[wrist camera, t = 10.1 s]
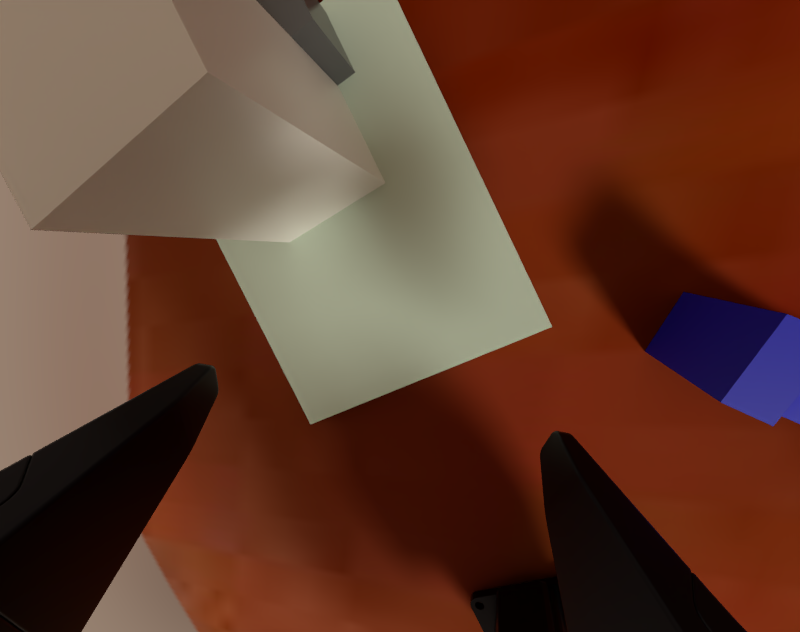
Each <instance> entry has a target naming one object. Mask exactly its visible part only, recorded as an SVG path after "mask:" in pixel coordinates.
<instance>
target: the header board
mask: <svg viewBox="0 0 800 632" xmlns="http://www.w3.org/2000/svg"><path fill="white" fill-rule="evenodd" d="M256 1H257V2H258V3H259V4H260V5H261V6H262V7H263V8H264V9H265V10H266V11H267V12H268V13H269V14H270V15H271V16H272V17H273V19H274V20H275V21H276V22H277V23H278V24H279V25H280V26H281V27H282V28H283V29H284V30H285V31H286V32H287V33H288V34H289V35H290V36H291V37H292V38H293V39H294V41H295V42H296V43H297V44H298V45H299V46H300V47H301V48H302V49H303V50H304V51H305V52H306V53H307V54H308V55H309V56H310V57H311V58H312V59H313V60H314V61H315V63H316V64H317V65H318V66H319V67H320V68H321V69H322V70H323V71H324V72H325V73H326V74H327V75H328V76H329V77H330V78H331V79H332V80H333V81H334V82H335V83H336V85H337V86H338V87H339V89H340V91H341V93H342V95H343V97H344V99H345V101H346V103H347V105H348V107H349V109H350V111H351V113H352V115H353V118H354V120H355V122H356V124H357V126H358V128H359V130H360V132H361V134H362V136H363V138H364V140H365V142H366V144H367V146H368V148H369V150H370V152H371V155H372V157H373V159H374V161H375V163H376V165H377V167H378V169H379V171H380V173H381V175H382V177H383V179H384V181H385V184H383V185H381V186H380V187H378V188H377V189H375V190H373V191H372V192H370V193H369V194H367V195H365V196H364V197H362V198H360V199H359V200H357V201H356V202H354V203H352V204H351V205H349V206H348V207H346V208H344V209H343V210H341V211H339V212H338V213H336V214H335V215H333V216H331V217H330V218H328V219H327V220H325V221H323V222H322V223H320V224H318V225H317V226H315V227H314V228H312V229H310V230H309V231H307V232H306V233H304V234H302V235H301V236H299V237H297V238H296V239H294V240H293V241H291V242H289V243H288V242H268V241H248V240H227V239H216V240H217V242H218V244H219V246H220V248H221V250H222V252H223V254H224V256H225V258H226V260H227V262H228V264H229V266H230V268H231V270H232V271H233V273H234V275H235V277H236V279H237V281H238V283H239V285H240V287H241V289H242V291H243V293H244V295H245V297H246V299H247V301H248V303H249V305H250V307H251V309H252V311H253V313H254V315H255V317H256V319H257V320H258V322H259V324H260V326H261V328H262V330H263V332H264V334H265V336H266V338H267V340H268V342H269V344H270V346H271V348H272V350H273V352H274V354H275V356H276V358H277V360H278V362H279V364H280V366H281V368H282V370H283V371H284V373H285V375H286V377H287V379H288V381H289V383H290V385H291V387H292V389H293V391H294V393H295V395H296V397H297V399H298V401H299V403H300V405H301V407H302V409H303V411H304V413H305V415H306V417H307V419H308V420H309V422H310V424H313V423H316V422H318V421H321V420H323V419H325V418H328V417H330V416H333V415H335V414H338V413H340V412H343V411H345V410H348V409H350V408H353V407H355V406H358V405H360V404H363V403H365V402H368V401H370V400H372V399H375V398H377V397H380V396H382V395H385V394H387V393H390V392H392V391H395V390H397V389H400V388H402V387H405V386H407V385H410V384H412V383H414V382H417V381H419V380H422V379H424V378H427V377H429V376H432V375H434V374H437V373H439V372H442V371H444V370H447V369H449V368H452V367H454V366H456V365H459V364H461V363H464V362H466V361H469V360H471V359H474V358H476V357H479V356H481V355H484V354H486V353H489V352H491V351H494V350H496V349H498V348H501V347H503V346H506V345H508V344H511V343H513V342H516V341H518V340H521V339H523V338H526V337H528V336H531V335H533V334H536V333H538V332H540V331H543V330H545V329H548V328H550V327H552V325H551V323H550V321H549V319H548V317H547V315H546V313H545V311H544V308H543V306H542V304H541V302H540V300H539V298H538V296H537V294H536V292H535V289H534V287H533V285H532V283H531V281H530V279H529V277H528V275H527V273H526V270H525V268H524V266H523V264H522V262H521V260H520V258H519V256H518V254H517V252H516V249H515V247H514V245H513V243H512V241H511V239H510V237H509V235H508V233H507V230H506V228H505V226H504V224H503V222H502V220H501V218H500V216H499V214H498V211H497V209H496V207H495V205H494V203H493V201H492V199H491V197H490V195H489V193H488V190H487V188H486V186H485V184H484V182H483V180H482V178H481V176H480V174H479V171H478V169H477V167H476V165H475V163H474V161H473V159H472V157H471V155H470V152H469V150H468V148H467V146H466V144H465V142H464V140H463V138H462V136H461V134H460V131H459V129H458V127H457V125H456V123H455V121H454V119H453V117H452V115H451V112H450V110H449V108H448V106H447V104H446V102H445V100H444V98H443V96H442V93H441V91H440V89H439V87H438V85H437V83H436V81H435V79H434V77H433V75H432V72H431V70H430V68H429V66H428V64H427V62H426V60H425V58H424V56H423V53H422V51H421V49H420V47H419V45H418V43H417V41H416V39H415V37H414V34H413V32H412V30H411V28H410V26H409V24H408V22H407V20H406V18H405V16H404V13H403V11H402V9H401V7H400V5H399V3H398V1H397V0H323V1H322V2H321V3H319V2H318V0H256Z"/></svg>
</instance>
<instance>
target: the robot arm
mask: <svg viewBox="0 0 800 632" xmlns="http://www.w3.org/2000/svg"><path fill="white" fill-rule="evenodd" d="M217 394H218V382H217V375H216V370H215V368H214V367H213V366H211V365H206V364H200V363H199V364H195V365H193V366H191V367H189V368H187V369H186V370H184V371H182V372H180V373H178V374H176V375H175V376H173V377H171V378H169V379H167V380H165V381H164V382H162V383H160V384H158V385H156V386H155V387H153V388H151V389H149V390H147V391H145V392H144V393H142V394H140V395H138V396H136V397H134V398H133V399H131V400H129V401H127V402H125V403H124V404H122V405H120V406H118V407H116V408H114V409H113V410H111V411H109V412H107V413H105V414H104V415H102V416H100V417H98V418H96V419H94V420H93V421H91V422H89V423H87V424H85V425H83V426H82V427H80V428H78V429H77V430H74V431H73V432H71V433H69V434H67V435H65V436H63V437H62V438H60V439H58V440H56V441H54V442H52V443H51V444H49V445H47V446H45V447H43V448H42V449H40V450H38V451H36V452H34V453H33V455H32V456H31V455H29V456H27V457H25V458H23V459H21V460H19V461H18V462H16V463H14V464H12V465H11V466H8V467H7V468H5V469H3V470H1V471H0V632H82V630H83V628H84V626H85V625H86V623H87V622H88V620H89V618H90V617H91V615H92V613H93V612H94V610H95V608H96V607H97V605H98V603H99V602H100V600H101V598H102V597H103V595H104V594H105V592H106V590H107V588H108V587H109V585H110V584H111V582H112V580H113V579H114V577H115V575H116V574H117V572H118V571H119V569H120V567H121V566H122V564H123V562H124V561H125V559H126V557H127V556H128V554H129V552H130V551H131V549H132V548H133V546H134V544H135V543H136V541H137V539H138V538H139V536H140V534H141V533H142V531H143V529H144V528H145V526H146V525H147V523H148V521H149V520H150V518H151V516H152V515H153V513H154V511H155V510H156V508H157V506H158V505H159V503H160V502H161V500H162V498H163V497H164V495H165V493H166V492H167V490H168V488H169V487H170V485H171V483H172V482H173V480H174V478H175V477H176V475H177V474H178V472H179V470H180V469H181V467H182V465H183V464H184V462H185V460H186V459H187V457H188V455H189V453H190V452H191V450H192V448H193V446H194V444H195V442H196V440H197V438H198V436H199V433H200V431H201V429H202V427H203V425H204V423H205V421H206V418H207V416H208V414H209V412H210V410H211V408H212V406H213V403H214V401H215V399H216V397H217ZM540 462H541V473H542V485H543V496H544V507H545V515H546V521H547V527H548V532H549V537H550V542H551V547H552V553H553V558H554V563H555V568H556V573H557V577H552V578H547V579H541V580H536V581H531V582H525V583H520V584H515V585H509V586H504V587H499V588H493V589H488V590H483V591H477V592H474V593H473V594H472V595H471V607H472V609H473V611H474V613H475V615H476V617H477V619H478V621H479V623H480V625H481V627H482V629H483V631H484V632H747V631H746V630H745V629H744V628H743V627H742V626H741V625H740V624H739V623H738V622H737V621H736V620H735V619H734V618H733V616H732V615H731V614H730V613H729V612H728V611H727V610H726V609H725V608H724V606H723V605H722V604H721V603H720V602H719V601H718V600H717V599H716V598H715V597H714V595H713V594H712V593H711V592H710V591H709V590H708V589H707V588H706V586H705V585H704V584H703V583H702V582H701V581H700V580H699V579H698V577H697V576H696V575H695V574H694V573H691V570H690V568H689V567H688V566H687V565H686V564H685V563H684V562H683V561H682V559H681V558H680V557H679V556H678V555H677V554H676V553H675V551H674V550H673V549H672V548H671V547H670V546H669V545H668V543H667V542H666V541H665V540H664V539H663V538H662V537H661V536H660V534H659V533H658V532H657V531H656V530H655V529H654V528H653V526H652V525H651V524H650V523H649V522H648V521H647V520H646V518H645V517H644V516H643V515H642V514H641V513H640V512H639V511H638V509H637V508H636V507H635V506H634V505H633V504H632V503H631V501H630V500H629V499H628V498H627V497H626V496H625V495H624V494H623V492H622V491H621V490H620V489H619V488H618V487H617V486H616V484H615V483H614V482H613V481H612V480H611V479H610V478H609V476H608V475H607V474H606V473H605V472H604V471H603V470H602V469H601V467H600V466H599V465H598V464H597V463H596V462H595V461H594V459H593V458H592V457H591V456H590V455H589V454H588V453H587V452H586V450H585V449H584V448H583V447H582V446H581V445H580V444H579V442H578V441H577V440H576V439H575V438H574V437H573V436H572V435H571V434H569V433H565V432H560V431H555V432H553V433H552V434H551V436H550V437H549V438H548V440H547V441H546V443H545V444H544V446H543V447H542V449H541V453H540ZM478 602H481V603H478Z"/></svg>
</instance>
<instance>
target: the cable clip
mask: <svg viewBox="0 0 800 632" xmlns="http://www.w3.org/2000/svg"><path fill="white" fill-rule="evenodd" d="M645 352H647V353H648V354H650V355H651V356H653V357H654V358H656V359H657V360H659V361H660V362H662V363H663V364H665V365H666V366H668V367H669V368H671V369H672V370H674V371H675V372H676V373H678V374H679V375H681V376H682V377H684V378H685V379H687V380H688V381H690V382H691V383H693V384H694V385H696V386H697V387H699V388H700V389H702V390H703V391H705V392H706V393H708V394H709V395H711V396H712V397H714V398H715V399H717V400H718V401H720V402H721V403H723V404H726V405H728V406H730V407H732V408H734V409H737V410H739V411H741V412H743V413H745V414H748V415H750V416H752V417H754V418H756V419H758V420H761V421H763V422H765V423H767V424H769V425H772V426H774V425H775V423H776V422H777V421H778V420H779V419H780V417H781V416H783V417H785V418H787V419H790V420H792V421H794V422H796V423H799V424H800V319H798V318H796V317H793V316H791V315H788V314H784V313H780V312H775V311H770V310H766V309H761V308H756V307H752V306H747V305H742V304H738V303H733V302H728V301H724V300H719V299H714V298H710V297H705V296H700V295H696V294H691V293H686V292H683V294H682V295H681V297H680V298H679V300H678V301H677V303H676V304H675V306H674V307H673V309H672V310H671V312H670V313H669V315H668V316H667V318H666V319H665V321H664V322H663V324H662V326H661V327H660V329H659V330H658V332H657V333H656V335H655V336H654V338H653V339H652V341H651V342H650V344H649V345H648V347H647V348H646V350H645Z"/></svg>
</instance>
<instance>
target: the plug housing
mask: <svg viewBox="0 0 800 632" xmlns="http://www.w3.org/2000/svg"><path fill="white" fill-rule="evenodd" d="M0 172H1V174H2V176H3V178H4V180H5V182H6V184H7V186H8V188H9V189H10V191H11V193H12V195H13V197H14V199H15V201H16V202H17V204H18V206H19V208H20V210H21V212H22V214H23V216H24V218H25V219H26V221H27V223H28V225H29V227H30V229H31V230H44V231H64V232H84V233H86V232H87V233H105V234H125V235H146V236H166V237H186V238H207V239H227V240H248V241H268V242H288V243H289V242H291V241H293V240H294V239H296V238H297V237H299V236H301V235H302V234H304V233H306V232H307V231H309V230H310V229H312V228H314V227H315V226H317V225H318V224H320V223H322V222H323V221H325V220H327V219H328V218H330V217H331V216H333V215H335V214H336V213H338V212H339V211H341V210H343V209H344V208H346V207H348V206H349V205H351V204H352V203H354V202H356V201H357V200H359V199H360V198H362V197H364V196H365V195H367V194H369V193H370V192H372V191H373V190H375V189H377V188H378V187H380V186H381V185H383V184H385V181H384V179H383V177H382V175H381V173H380V171H379V169H378V167H377V165H376V163H375V161H374V159H373V157H372V155H371V152H370V150H369V148H368V146H367V144H366V142H365V140H364V138H363V136H362V134H361V132H360V130H359V128H358V126H357V124H356V122H355V120H354V118H353V115H352V113H351V111H350V109H349V107H348V105H347V103H346V101H345V99H344V97H343V95H342V93H341V91H340V89H339V87H338V86H337V85H336V83H335V82H334V81H333V80H332V79H331V78H330V77H329V76H328V75H327V74H326V73H325V72H324V71H323V70H322V69H321V68H320V67H319V66H318V65H317V64H316V63H315V61H314V60H313V59H312V58H311V57H310V56H309V55H308V54H307V53H306V52H305V51H304V50H303V49H302V48H301V47H300V46H299V45H298V44H297V43H296V42H295V41H294V39H293V38H292V37H291V36H290V35H289V34H288V33H287V32H286V31H285V30H284V29H283V28H282V27H281V26H280V25H279V24H278V23H277V22H276V21H275V20H274V19H273V17H272V16H271V15H270V14H269V13H268V12H267V11H266V10H265V9H264V8H263V7H262V6H261V5H260V4H259V3H258V2H257V1H256V0H0Z"/></svg>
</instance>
